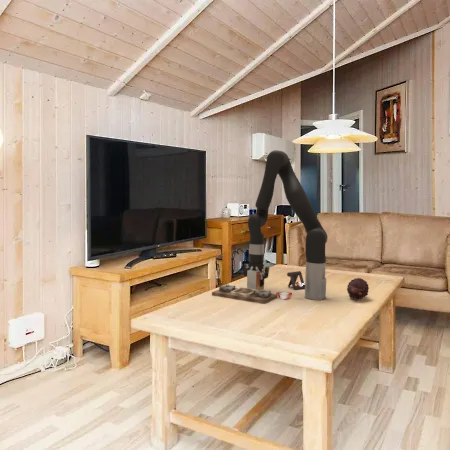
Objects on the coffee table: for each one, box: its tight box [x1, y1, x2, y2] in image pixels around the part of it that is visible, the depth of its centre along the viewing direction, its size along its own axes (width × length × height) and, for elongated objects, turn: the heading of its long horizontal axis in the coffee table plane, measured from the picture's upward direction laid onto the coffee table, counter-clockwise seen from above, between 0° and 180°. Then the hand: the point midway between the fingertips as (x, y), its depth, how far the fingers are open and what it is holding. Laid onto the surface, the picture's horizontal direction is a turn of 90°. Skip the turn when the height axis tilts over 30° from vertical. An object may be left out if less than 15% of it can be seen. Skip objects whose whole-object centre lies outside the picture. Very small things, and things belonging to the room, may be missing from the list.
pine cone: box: [346, 277, 370, 300], centre depth 204 cm, size 18×10×10 cm, turn 161°
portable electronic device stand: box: [286, 270, 305, 291], centre depth 224 cm, size 9×8×8 cm
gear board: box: [211, 283, 278, 305], centre depth 204 cm, size 28×14×4 cm, turn 60°
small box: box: [246, 269, 265, 290], centre depth 216 cm, size 8×6×10 cm
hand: (255, 285), depth 216 cm, fingers open, 6 cm apart
